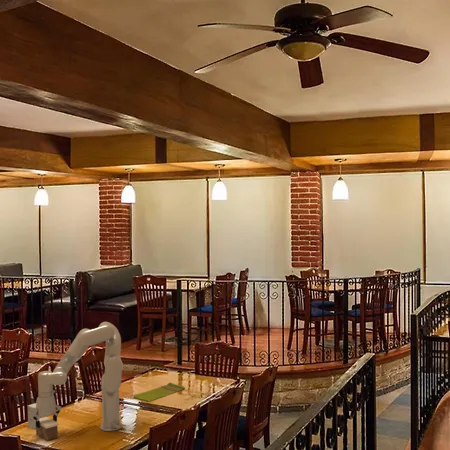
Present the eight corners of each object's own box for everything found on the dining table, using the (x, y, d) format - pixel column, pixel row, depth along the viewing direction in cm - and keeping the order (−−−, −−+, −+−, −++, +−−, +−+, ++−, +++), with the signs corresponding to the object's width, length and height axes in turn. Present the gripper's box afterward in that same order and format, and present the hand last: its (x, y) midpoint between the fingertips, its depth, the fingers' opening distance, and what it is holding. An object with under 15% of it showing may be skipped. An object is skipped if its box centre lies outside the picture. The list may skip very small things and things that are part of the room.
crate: (57, 438, 306) (57, 425, 307) (47, 441, 302) (46, 428, 302) (46, 431, 317) (46, 419, 317) (36, 434, 313) (35, 422, 313)
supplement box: (39, 423, 331) (38, 402, 331) (46, 426, 327) (45, 404, 327) (27, 427, 326) (27, 405, 326) (34, 429, 321) (34, 407, 321)
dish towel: (185, 389, 394) (185, 385, 394) (148, 403, 366) (148, 398, 366) (169, 386, 403) (169, 382, 403) (132, 399, 375) (132, 394, 375)
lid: (58, 426, 306) (58, 423, 306) (46, 430, 302) (46, 426, 302) (46, 420, 318) (46, 416, 318) (34, 423, 313) (34, 419, 313)
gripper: (57, 389, 318) (58, 419, 318) (27, 396, 307) (28, 427, 307) (63, 392, 313) (64, 422, 313) (33, 399, 301) (34, 431, 301)
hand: (46, 425), depth 310 cm, fingers open, 9 cm apart
